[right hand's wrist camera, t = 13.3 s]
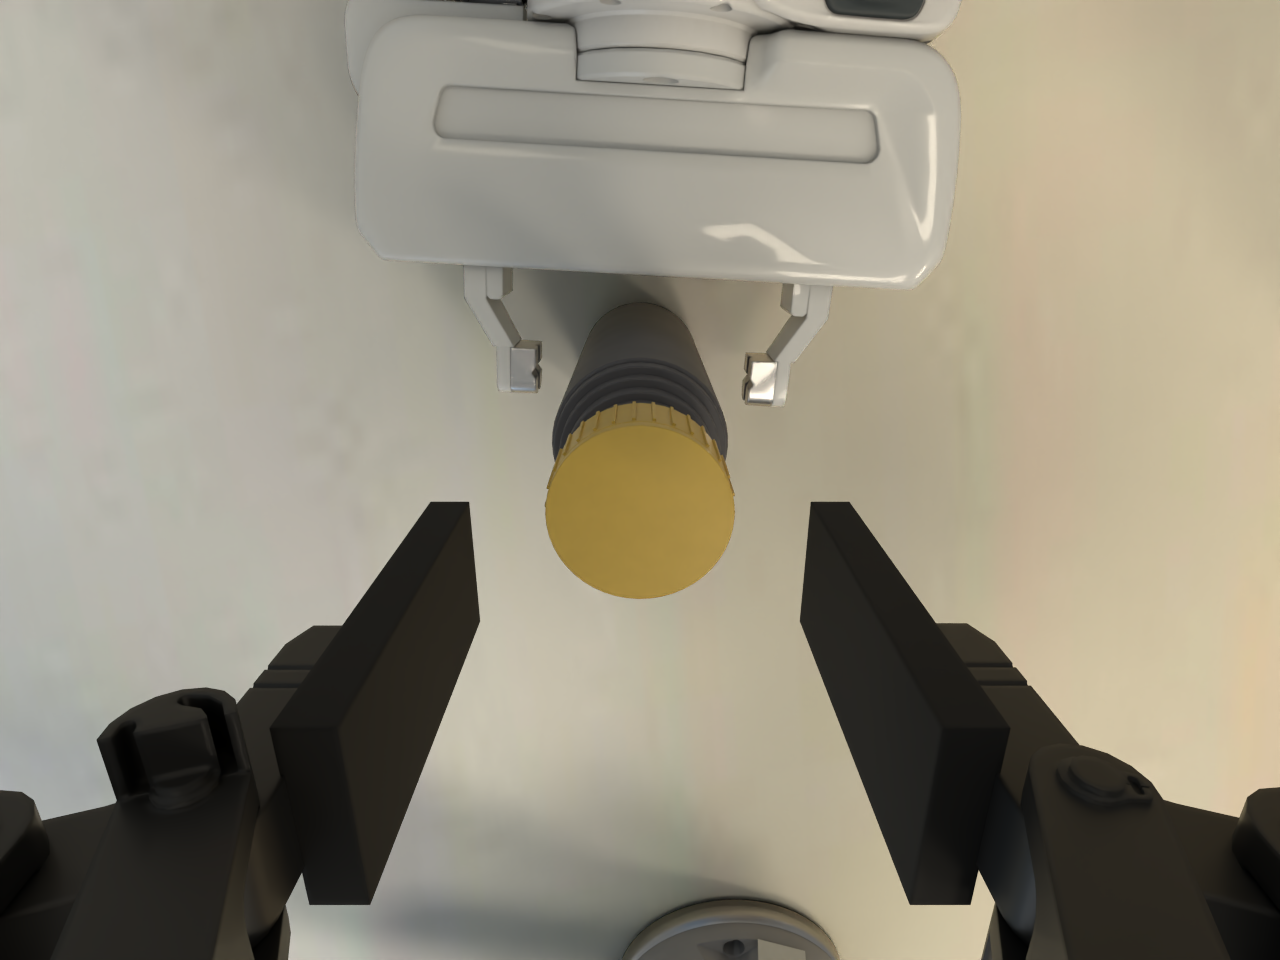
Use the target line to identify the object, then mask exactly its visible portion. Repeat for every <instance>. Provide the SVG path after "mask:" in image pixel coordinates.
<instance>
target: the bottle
mask: <svg viewBox="0 0 1280 960" xmlns="http://www.w3.org/2000/svg"><path fill="white" fill-rule="evenodd" d="M633 401H636V403H648V404H652V402H655V404H656V405H661V406H665V407H668V408H670V406H671V407H673V408H674V410H676V411H678V412H680V413H682V414H684V415H686V416H687V414H688V415H690V417H691V419H692V420H693V421H695V422H696V423H697V424H698V425H699V426H700V427H701V426H702V425H703V426H704V427H705V431H706V433H707V434H708V435H709V436H710V438H711V439H712V440H713V439H715V441H716V444H717V447H718V450H719V453H720V455H723V457H724V460H726V455H727V448H728V434H727V427H726V422H725V419H724V415H723V412H722V410H721V407H720V405H719V402H718V400H717V397H716V395H715V393H714V390H713V388H712V385H711V383H710V380H709V378H708V375H707V373H706V370H705V368H704V365H703V363H702V360H701V358H700V356H699V353H698V351H697V348H696V346H695V343H694V341H693V338H692V336H691V334H690V332H689V330H688V329H687V327H686V326H685V324H684V323H683V322H682V321H681V320H680V319H679V318H678V317H677V316H676V315H675V314H673V313H672V312H670V311H669V310H667V309H665V308H663V307H660V306H657V305H654V304H649V303H631V304H626V305H623V306H620V307H617V308H615V309H613V310H611V311H610V312H608V313H607V314H605V315H604V316H603V317H602V318H601V319H600V320H599V321H598V322H597V323H596V324H595V326H594V327H593V329H592V330H591V332H590V334H589V336H588V338H587V341H586V343H585V346H584V348H583V351H582V353H581V355H580V358H579V360H578V363H577V365H576V368H575V370H574V373H573V375H572V378H571V380H570V383H569V385H568V388H567V390H566V392H565V395H564V397H563V400H562V402H561V405H560V407H559V410H558V413H557V416H556V419H555V422H554V427H553V435H552V447H553V455H554V460H555V462H556V459H557V456H558V453H559V450H560V448H561V449H563V448H564V446H565V444H566V441H567V438H568V435H569V434H570V433H571V434H573V433H574V432H575V431H576V430H577V428H578V427H579V426H580V424H581V422H582V421H584V422H585V421H587V420H588V419H590V418H591V417H593V416H594V415H596V412H597V411H600V412H602V411H604V410H606V409H609V408H612V407H614V405H615V404H617V406H619V405H624V404H631V403H633Z"/></svg>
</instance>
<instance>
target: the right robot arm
mask: <svg viewBox="0 0 1280 960" xmlns="http://www.w3.org/2000/svg"><path fill="white" fill-rule="evenodd" d="M479 623H480V615H479V604H478V593H477V582H476V572H475V561H474V550H473V539H472V528H471V517H470V507H469V502H430V504H429V505H428V506H427V508H426V509H425V511H424V512H423V513H422V515H421V516H420V518H419V519H418V520H417V522H416V523H415V525H414V526H413V527H412V529H411V530H410V532H409V533H408V534H407V536H406V537H405V539H404V540H403V541H402V543H401V544H400V546H399V547H398V548H397V550H396V551H395V553H394V554H393V555H392V557H391V558H390V560H389V561H388V562H387V564H386V565H385V567H384V568H383V569H382V571H381V572H380V574H379V575H378V576H377V578H376V579H375V581H374V582H373V583H372V585H371V586H370V588H369V589H368V590H367V592H366V593H365V595H364V596H363V597H362V599H361V600H360V602H359V603H358V604H357V606H356V607H355V609H354V610H353V611H352V613H351V614H350V616H349V617H348V618H347V620H346V621H345V623H344V624H343V625H342V626H312V627H311V628H309V629H308V630H306V631H305V632H303V633H302V634H300V635H299V636H297V637H296V638H294V639H293V640H291V641H290V642H288V643H287V644H285V646H284V647H283V648H282V649H281V650H280V652H279V653H278V654H277V655H276V657H275V658H274V659H273V660H272V661H271V663H270V664H269V665H268V670H264V671H263V673H262V674H261V675H260V676H259V677H258V679H257V680H256V681H255V682H254V686H253V688H250V689H249V690H248V691H247V692H246V693H245V695H244V696H243V697H242V698H241V700H240V701H239V702H238V703H237V705H236V701H235V699H234V698H233V697H232V696H230V695H229V694H228V693H226V692H225V691H222V690H217V689H211V688H194V689H183V690H179V691H175V692H172V693H168V694H164V695H161V696H157V697H155V698H153V699H150V700H148V701H146V702H144V703H142V704H140V705H137V706H135V707H133V708H131V709H130V710H128V711H127V712H125V713H124V714H123V715H121V716H120V717H118V718H117V719H116V720H114V721H113V722H111V723H110V724H109V725H108V726H107V728H106V729H105V730H104V731H103V733H102V734H101V735H100V736H99V738H98V739H97V743H98V746H99V749H100V752H101V755H102V758H103V761H104V764H105V767H106V770H107V773H108V775H109V778H110V781H111V784H112V787H113V790H114V793H115V796H116V799H117V802H116V803H115V804H112V805H108V806H105V807H100V808H96V809H92V810H87V811H83V812H78V813H74V814H69V815H65V816H61V817H56V818H52V819H47V820H43V821H42V820H41V818H40V815H39V813H38V810H37V807H36V805H35V802H34V800H33V799H31V798H30V797H28V796H27V795H25V794H24V793H23V792H15V791H2V790H0V960H288V954H289V944H290V935H291V931H290V924H289V918H288V913H287V909H286V905H285V904H286V902H287V901H288V899H289V897H290V895H291V893H292V891H293V889H294V887H295V885H296V883H297V881H298V879H299V877H300V875H301V873H302V874H303V878H304V883H305V887H306V891H307V896H308V900H309V905H370V904H371V901H372V899H373V896H374V893H375V891H376V888H377V886H378V883H379V881H380V878H381V875H382V873H383V870H384V868H385V865H386V863H387V860H388V857H389V855H390V852H391V850H392V847H393V844H394V842H395V839H396V837H397V834H398V832H399V829H400V826H401V824H402V821H403V819H404V816H405V814H406V811H407V808H408V806H409V803H410V801H411V798H412V795H413V793H414V790H415V788H416V785H417V783H418V780H419V777H420V775H421V772H422V770H423V767H424V765H425V762H426V759H427V757H428V754H429V752H430V749H431V746H432V744H433V741H434V739H435V736H436V734H437V731H438V728H439V726H440V723H441V721H442V718H443V716H444V713H445V710H446V708H447V705H448V703H449V700H450V697H451V695H452V692H453V690H454V687H455V685H456V682H457V679H458V677H459V674H460V672H461V669H462V667H463V664H464V661H465V659H466V656H467V654H468V651H469V648H470V646H471V643H472V641H473V638H474V636H475V633H476V630H477V628H478V625H479ZM800 623H801V625H802V628H803V630H804V633H805V636H806V638H807V641H808V643H809V646H810V648H811V651H812V654H813V656H814V659H815V661H816V664H817V667H818V669H819V672H820V674H821V677H822V679H823V682H824V685H825V687H826V690H827V692H828V695H829V697H830V700H831V703H832V705H833V708H834V710H835V713H836V716H837V718H838V721H839V723H840V726H841V728H842V731H843V734H844V736H845V739H846V741H847V744H848V746H849V749H850V752H851V754H852V757H853V759H854V762H855V765H856V767H857V770H858V772H859V775H860V777H861V780H862V783H863V785H864V788H865V790H866V793H867V795H868V798H869V801H870V803H871V806H872V808H873V811H874V814H875V816H876V819H877V821H878V824H879V826H880V829H881V832H882V834H883V837H884V839H885V842H886V844H887V847H888V850H889V852H890V855H891V857H892V860H893V863H894V865H895V868H896V870H897V873H898V875H899V878H900V881H901V883H902V886H903V888H904V891H905V893H906V896H907V899H908V901H909V904H910V905H971V900H972V896H973V891H974V887H975V883H976V878H977V874H978V869H979V871H980V873H981V875H982V877H983V879H984V881H985V883H986V885H987V887H988V889H989V891H990V893H991V895H992V897H993V899H994V901H995V905H994V909H993V913H992V917H991V921H990V926H989V930H988V934H987V938H986V942H985V946H984V950H983V954H982V958H981V960H1280V787H1278V788H1265V789H1259V790H1257V791H1256V792H1254V793H1253V794H1251V795H1250V796H1248V797H1247V800H1246V802H1245V805H1244V807H1243V810H1242V813H1241V815H1240V818H1238V817H1233V816H1229V815H1224V814H1220V813H1216V812H1211V811H1207V810H1202V809H1198V808H1193V807H1189V806H1185V805H1180V804H1176V803H1172V802H1169V801H1166V800H1163V799H1162V797H1161V796H1160V794H1159V793H1158V791H1157V790H1156V788H1155V787H1154V786H1153V784H1152V783H1151V782H1150V781H1149V780H1148V779H1147V778H1145V777H1144V776H1143V775H1142V774H1141V773H1139V772H1138V771H1137V770H1136V769H1134V768H1133V767H1132V766H1130V765H1128V764H1127V763H1125V762H1123V761H1121V760H1119V759H1117V758H1115V757H1113V756H1111V755H1109V754H1108V753H1105V752H1101V751H1098V750H1095V749H1092V748H1089V747H1085V746H1082V745H1079V744H1078V743H1077V741H1076V740H1075V739H1074V738H1073V737H1072V735H1071V734H1070V733H1069V732H1068V731H1067V729H1066V728H1065V727H1064V726H1063V724H1062V723H1061V722H1060V721H1059V720H1058V718H1057V717H1056V716H1055V715H1054V713H1053V712H1052V711H1051V710H1050V709H1049V707H1048V706H1047V705H1046V704H1045V702H1044V701H1043V700H1042V699H1041V698H1040V696H1039V695H1038V694H1037V693H1036V691H1035V690H1034V689H1033V688H1032V687H1031V686H1028V685H1027V680H1026V679H1025V678H1024V677H1023V676H1022V674H1021V673H1020V672H1019V671H1018V669H1017V668H1016V667H1013V666H1012V662H1011V661H1010V660H1009V658H1008V657H1007V656H1006V655H1005V654H1004V652H1003V651H1002V650H1001V649H1000V648H999V646H998V645H997V644H996V643H995V642H994V641H993V640H991V639H990V638H988V637H987V636H985V635H984V634H982V633H981V632H979V631H978V630H976V629H975V628H973V627H972V626H970V625H968V624H967V623H935V621H934V620H933V618H932V617H931V616H930V614H929V613H928V611H927V610H926V609H925V607H924V606H923V604H922V603H921V602H920V600H919V599H918V597H917V596H916V595H915V593H914V592H913V590H912V589H911V588H910V586H909V585H908V583H907V582H906V581H905V579H904V578H903V576H902V575H901V574H900V572H899V571H898V569H897V568H896V567H895V565H894V564H893V562H892V561H891V560H890V558H889V557H888V555H887V554H886V553H885V551H884V550H883V548H882V547H881V546H880V544H879V543H878V541H877V540H876V539H875V537H874V536H873V534H872V533H871V532H870V530H869V529H868V527H867V526H866V525H865V523H864V522H863V520H862V519H861V518H860V516H859V515H858V513H857V512H856V511H855V509H854V508H853V506H852V505H851V504H850V502H811V507H810V517H809V528H808V539H807V550H806V561H805V572H804V582H803V593H802V604H801V615H800ZM622 960H840V959H839V956H838V953H837V951H836V948H835V947H834V945H833V943H832V942H831V940H830V939H829V938H828V936H827V935H826V934H825V933H824V932H823V931H822V930H821V929H820V928H819V927H818V926H816V925H815V924H814V923H813V922H811V921H810V920H808V919H807V918H805V917H803V916H801V915H800V914H798V913H796V912H793V911H791V910H788V909H786V908H783V907H780V906H777V905H773V904H769V903H764V902H758V901H750V900H719V901H711V902H705V903H700V904H696V905H692V906H689V907H685V908H682V909H680V910H677V911H674V912H672V913H670V914H668V915H666V916H664V917H662V918H660V919H659V920H657V921H655V922H654V923H652V924H651V925H650V926H648V927H647V928H646V929H645V930H643V931H642V932H641V933H640V934H639V935H638V936H637V937H636V938H635V939H634V940H633V942H632V943H631V944H630V946H629V947H628V949H627V950H626V952H625V954H624V956H623V958H622Z"/></svg>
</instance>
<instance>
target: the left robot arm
mask: <svg viewBox="0 0 1280 960" xmlns="http://www.w3.org/2000/svg"><path fill="white" fill-rule="evenodd" d="M454 1H455V2H454ZM454 1H453V0H447V1H444V0H442V1H438V0H348V2H347V6H346V10H345V20H344V24H345V37H346V50H347V63H348V70H349V75H350V79H351V82H352V85H353V87H354V89H355V91H356V93H357V95H358V97H359V98H358V108H357V120H356V136H355V160H354V191H355V217H356V224H357V228H358V230H359V232H360V234H361V235H362V237H363V238H364V239H365V240H366V242H367V243H368V244H369V245H370V247H371V248H372V249H373V250H374V252H375V253H376V254H377V255H378V256H379V257H380V258H382V259H384V260H388V261H404V262H421V263H439V264H456V265H463V269H464V298H465V300H466V302H467V303H468V305H469V307H470V308H471V310H472V312H473V313H474V315H475V317H476V318H477V320H478V322H479V323H480V325H481V327H482V328H483V330H484V332H485V333H486V335H487V337H488V338H489V340H490V342H491V344H492V345H493V346H496V347H497V386H498V390H499V391H500V392H510V393H511V392H519V393H538V389H540V387H541V381H542V368H541V367H540V366H539V364H538V363H539V362H540V360H541V358H542V341H533V340H521V337H520V335H519V333H518V331H517V329H516V327H515V326H514V324H513V322H512V320H511V318H510V316H509V314H508V313H507V311H506V309H505V307H504V305H503V303H502V301H501V298H503V297H504V296H506V295H508V294H509V293H510V292H512V291H513V268H526V269H543V270H561V271H578V272H596V273H613V274H631V275H648V276H666V277H683V278H701V279H718V280H735V281H753V282H770V283H783V285H782V294H781V304H780V306H781V307H782V309H784V310H785V311H787V312H788V313H790V314H791V317H790V318H789V320H788V321H787V322H786V324H785V325H784V327H783V328H782V330H781V331H780V333H779V334H778V335H777V337H776V338H775V340H774V341H773V343H772V344H771V346H770V347H769V349H768V350H767V351H766V353H746V355H745V364H744V370H745V372H746V373H747V376H746V377H745V378H744V379H743V382H742V399H743V400H745V404H746V405H756V406H773V407H783V406H784V405H785V402H786V397H787V390H788V382H789V374H790V367H791V363H795V361H796V360H797V359H798V358H799V356H800V355H801V354H802V352H803V351H804V350H805V348H806V347H807V346H808V344H809V343H810V342H811V341H812V339H813V338H814V337H815V335H816V334H817V333H818V331H819V330H820V329H821V327H822V326H823V325H824V324H825V322H826V321H827V320H828V315H829V308H830V302H831V295H832V289H833V286H840V287H858V288H875V289H893V290H913V289H915V288H916V287H918V286H919V285H920V284H921V283H922V282H923V281H924V280H925V279H926V278H927V277H928V276H929V275H930V274H931V273H932V272H933V270H934V269H935V268H936V267H937V266H938V265H939V264H940V262H941V260H942V258H943V255H944V252H945V248H946V243H947V239H948V234H949V228H950V223H951V217H952V210H953V204H954V196H955V188H956V180H957V170H958V160H959V146H960V130H961V101H960V93H959V87H958V83H957V80H956V77H955V74H954V72H953V70H952V68H951V66H950V65H949V63H948V62H947V60H946V59H945V58H944V57H943V56H942V55H941V54H940V53H939V52H938V51H937V50H935V49H934V48H932V47H931V46H929V45H928V44H929V43H930V42H932V41H933V40H935V39H936V38H937V37H938V36H940V35H941V34H942V33H943V32H944V31H945V30H946V29H947V28H948V27H949V26H950V25H951V24H952V23H953V21H954V20H955V18H956V16H957V14H958V11H959V8H960V5H961V1H962V0H454ZM526 5H527V11H526V9H525V6H526ZM527 20H528V21H527Z"/></svg>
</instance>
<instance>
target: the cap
mask: <svg viewBox="0 0 1280 960" xmlns="http://www.w3.org/2000/svg"><path fill="white" fill-rule="evenodd" d="M729 478H730V475H729V472H728V469H727V466H726V463H725V460H724V457H723V455H720V453H719V450H718V447H717V444H716V441H715V439H713V440H712V439H711V438H710V436H709V435H708V434H707V433H706V431H705V427H704V426H703V425H702V426H701V427H700V426H699V425H698V424H697V423H696V422H695V421H693V420H692V419H691V417H690V415H688V414H687V416H686V415H684V414H682V413H680V412H678V411H676V410H674V408H673V407H671V406H670V408H668V407H665V406H661V405H656V404H655V402H652V404H648V403H636V401H633V403H631V404H624V405H619V406H617V404H615V405H614V407H612V408H609V409H606V410H604V411H602V412H600V411H597V412H596V415H594V416H593V417H591V418H590V419H588V420H587V421H585V422H584V421H582V422H581V424H580V426H579V427H578V428H577V430H576V431H575V432H574V433H573V434H571V433H570V434H569V435H568V438H567V441H566V444H565V446H564V448H563V449H561V448H560V450H559V453H558V456H557V459H556V462H555V465H554V467H553V470H552V473H551V476H550V479H549V482H548V485H547V489H549V490H548V494H547V499H546V502H545V507H546V512H545V515H546V525H547V529H548V533H549V537H550V540H551V542H552V545H553V547H554V549H555V551H556V552H557V554H558V556H559V557H560V559H561V560H562V561H563V563H564V564H565V565H566V566H567V567H568V568H569V569H570V570H571V571H572V572H573V573H574V575H576V576H577V577H578V578H580V579H581V580H582V581H583V582H585V583H587V584H588V585H590V586H592V587H593V588H596V589H598V590H600V591H602V592H605V593H608V594H611V595H614V596H619V597H625V598H635V599H645V598H655V597H661V596H665V595H669V594H672V593H675V592H677V591H680V590H682V589H685V588H686V587H688V586H690V585H692V584H693V583H695V582H696V581H698V580H699V579H700V578H702V577H703V576H704V575H705V574H706V573H707V572H708V571H710V570H711V569H712V568H713V566H714V565H715V564H716V563H717V561H718V560H719V559H720V557H721V556H722V554H723V552H724V551H725V549H726V547H727V544H728V542H729V540H730V537H731V533H732V530H733V524H734V514H735V510H734V499H733V496H735V495H734V491H733V488H732V485H731V482H730V479H729Z"/></svg>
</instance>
